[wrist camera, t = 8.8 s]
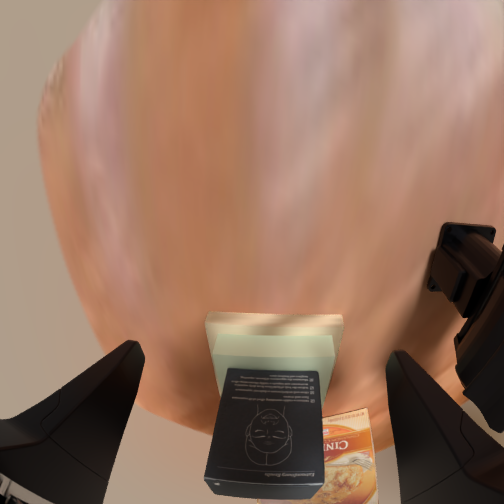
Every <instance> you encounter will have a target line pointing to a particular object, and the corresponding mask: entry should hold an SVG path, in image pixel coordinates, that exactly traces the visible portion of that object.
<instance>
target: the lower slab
mask: <svg viewBox="0 0 504 504" xmlns="http://www.w3.org/2000/svg"><path fill="white" fill-rule="evenodd" d="M205 328H206V333H207V338H208V343H209V348H210V353H211V358H212V362H213V367H214V372H215V376H216V381H217V385H218V390H219V394H220V397H221V395H222V392H221V388H220V384H219V380H218V376H217V372H216V368H215V364H214V360H213V356H212V353H213V349H214V346H215V342H216V339H217V335H218V334H236V335H266V336H324V335H332V338H333V345H334V352H335V359H334V364H333V368H332V372H331V377H332V374H333V370H334V367H335V363H336V359H337V355H338V351H339V347H340V343H341V339H342V335H343V331H344V323H343V318H342V315H294V314H257V313H234V312H216V311H209V312H208V315H207V318H206V320H205ZM331 377H330V381H331ZM330 381H329V384H330ZM328 388H329V385H328ZM327 391H328V389H327ZM326 394H327V393H326ZM325 398H326V397H325ZM324 401H325V400H324Z"/></svg>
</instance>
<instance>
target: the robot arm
mask: <svg viewBox="0 0 504 504" xmlns="http://www.w3.org/2000/svg"><path fill="white" fill-rule="evenodd" d="M448 227H449V230H447V228H448ZM491 231H492V232H491ZM495 233H496V229H495V228H494V227H493V226H488V225H477V224H466V223H453V222H446V223H445V224H444V225H443V227H442V232H441V236H440V240H439V245H438V248H437V251H436V254H435V258H434V262H433V265H432V269H431V273H430V278H429V281H428V284H427V288H428V289H429V291H431V292H435V291H443V293H444V294H445V295H446V297H447V298H448V300H449V301H450V302H453V304H454V305H455V307H456V308H457V310H458V311H459V313H460V314H461V316H462V317H463V318H468V319H467V321H466V322H465V324H464V326H463V327H462V329H461V330H460V332H459V333H457V335H456V336H455V338H454V345H455V351H456V358H457V365H456V366H455V369H456V373H457V375H458V377H459V379H460V381H461V384H462V385H463V387H464V388H465V390H464V391H463V395H464V396H466V397H467V398H468V399H470V400H471V401H472V402H473V403H474V404H475V405H476V406H477V407H478V408H479V409H480V411H481V413H482V414H483V416H484V418H485V420H486V422H487V423H488V425H489V427H490V428H491V429H493V430H494V431H496V432H498V433H502V432H503V431H504V245H503V247H502V252H501V251H500V250H499V249H498V248H497V247H496V246H495V245H494V244H493V241H494V237H495ZM432 285H433V286H432ZM431 286H432V287H431ZM144 363H145V356H144V353H143V351H142V348H141V346H140V344H139V342H138V341H134V340H127V341H125V342H124V343H123V344H121V345H120V346H118V347H117V348H116V349H114V350H113V351H111V352H110V353H109V354H107V355H106V356H105V357H103V358H102V359H100V360H99V361H98V362H97V363H95V364H93V365H92V366H91V367H89V368H88V369H86V370H85V371H84V372H82V373H81V374H80V375H78V376H77V377H75V378H74V379H73V380H71V381H70V382H68V383H67V384H66V385H64V386H63V387H62V388H61V389H59V390H57V391H56V392H54V393H53V394H52V395H50V396H49V397H47V398H46V399H44V400H43V401H41V402H39V403H38V404H36V405H34V406H33V407H31V408H29V409H27V410H26V411H24V412H22V413H20V414H19V415H17V416H15V417H13V418H10V419H3V420H2V419H0V504H103V500H104V497H105V493H106V489H107V486H108V481H109V478H110V475H111V471H112V468H113V465H114V462H115V458H116V455H117V452H118V449H119V446H120V442H121V439H122V436H123V433H124V430H125V427H126V424H127V421H128V418H129V416H130V413H131V410H132V407H133V404H134V401H135V398H136V395H137V392H138V387H139V383H140V379H141V375H142V371H143V367H144ZM386 381H387V393H388V405H389V413H390V419H391V424H392V430H393V437H394V443H395V450H396V457H397V466H398V474H399V483H400V496H401V504H504V448H503V447H502V446H501V445H500V444H499V443H498V442H497V441H495V440H494V439H493V438H492V437H491V436H490V435H488V434H487V433H486V432H485V431H484V430H483V429H482V428H481V427H480V426H478V425H477V424H476V423H475V422H474V421H473V420H472V419H471V418H470V417H469V416H468V414H467V413H465V411H463V409H462V408H461V407H460V406H459V405H458V404H457V403H456V402H455V401H454V400H453V399H452V398H451V397H450V396H449V395H448V394H447V393H446V392H445V391H444V390H443V389H442V387H441V386H440V385H439V384H438V383H437V382H436V381H435V380H434V379H433V378H432V377H431V376H430V375H429V374H428V373H427V372H426V371H425V370H424V369H423V368H422V367H421V366H420V365H419V364H418V363H417V362H416V361H415V360H414V359H413V358H412V357H411V356H410V355H409V354H408V353H407V352H406V351H404V350H394V351H393V352H392V353H391V355H390V358H389V360H388V362H387V365H386Z"/></svg>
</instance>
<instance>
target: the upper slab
mask: <svg viewBox="0 0 504 504" xmlns="http://www.w3.org/2000/svg"><path fill="white" fill-rule="evenodd" d="M212 356H213V360H214V364H215V368H216V372H217V376H218V380H219V384H220V388H221V392H222V391H223V386H224V381H225V377H226V373H227V369H228V368H238V369H252V370H275V371H318V373H319V379H320V393H321V405H322V408H323V404H324V400H325V397H326V393H327V389H328V385H329V381H330V377H331V372H332V368H333V364H334V359H335V352H334V345H333V338H332V335H324V336H266V335H236V334H218V335H217V339H216V342H215V346H214V349H213V353H212Z"/></svg>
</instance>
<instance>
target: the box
mask: <svg viewBox="0 0 504 504" xmlns="http://www.w3.org/2000/svg"><path fill="white" fill-rule="evenodd" d="M204 481H205V482H206V483H207V484H208V486H209V487H210V489H211V490H212V491H213V493H214V494H217V495H224V496H232V497H242V498H253V499H273V500H303V499H311V498H312V497H313V496H314V495H315V494H316V493H317V491H318V490H319V489H320V488H321V487H322V486H323V484H324V482H325V464H324V439H323V421H322V405H321V393H320V379H319V373H318V371H275V370H252V369H238V368H228V369H227V373H226V377H225V381H224V386H223V391H222V395H221V400H220V405H219V410H218V414H217V419H216V423H215V428H214V433H213V438H212V442H211V447H210V452H209V456H208V461H207V465H206V470H205V475H204Z"/></svg>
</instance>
